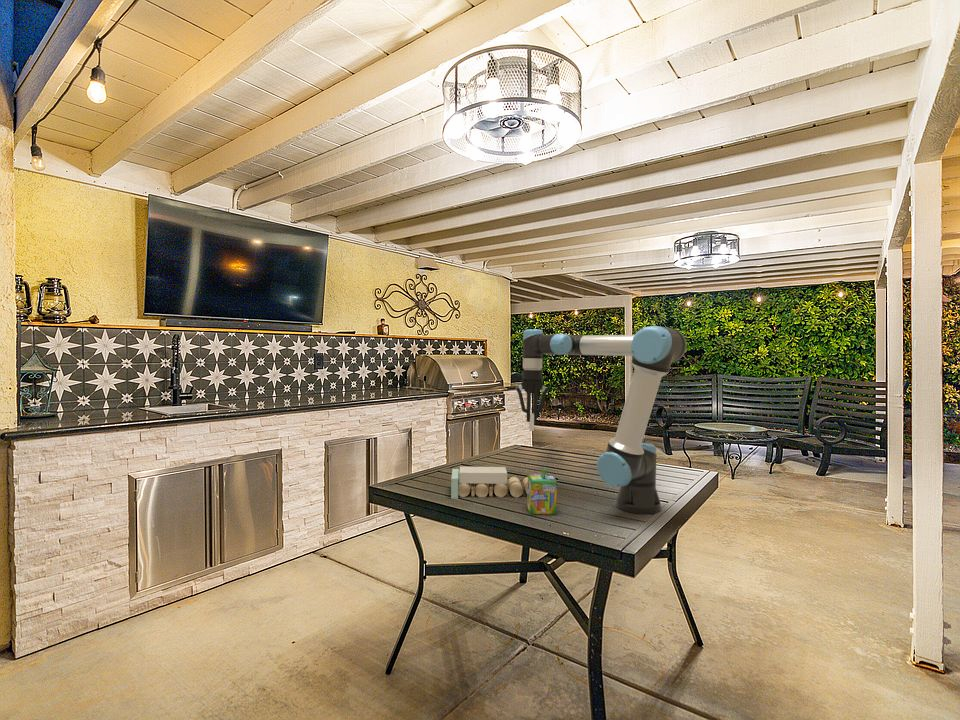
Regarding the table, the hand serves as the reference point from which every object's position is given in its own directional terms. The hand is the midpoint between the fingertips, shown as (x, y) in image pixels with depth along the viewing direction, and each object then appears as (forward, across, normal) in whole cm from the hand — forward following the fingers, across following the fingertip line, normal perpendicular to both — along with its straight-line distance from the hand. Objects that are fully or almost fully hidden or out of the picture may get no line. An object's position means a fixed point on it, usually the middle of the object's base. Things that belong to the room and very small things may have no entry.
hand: (531, 430), depth 189 cm
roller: (+24, +18, 0) cm, 30 cm away
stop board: (+24, +29, 0) cm, 38 cm away
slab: (+19, +19, 0) cm, 27 cm away
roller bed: (+24, +13, 0) cm, 28 cm away
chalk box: (+25, -1, +21) cm, 32 cm away
